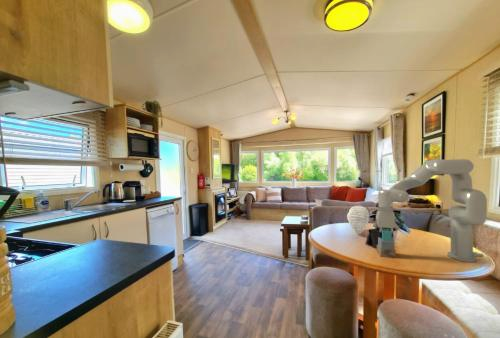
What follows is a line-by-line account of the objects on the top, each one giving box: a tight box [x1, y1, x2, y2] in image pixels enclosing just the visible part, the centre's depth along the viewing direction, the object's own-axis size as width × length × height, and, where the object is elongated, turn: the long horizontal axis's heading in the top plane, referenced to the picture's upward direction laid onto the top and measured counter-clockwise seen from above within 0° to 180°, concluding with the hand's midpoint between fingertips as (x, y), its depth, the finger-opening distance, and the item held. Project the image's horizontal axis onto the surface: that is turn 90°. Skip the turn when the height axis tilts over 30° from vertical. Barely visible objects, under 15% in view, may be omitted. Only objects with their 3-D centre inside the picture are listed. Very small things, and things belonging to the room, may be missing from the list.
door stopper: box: [365, 228, 380, 250], centre depth 149 cm, size 9×6×12 cm, turn 14°
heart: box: [346, 205, 370, 235], centre depth 174 cm, size 28×16×22 cm, turn 150°
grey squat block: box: [378, 238, 395, 250], centre depth 134 cm, size 7×7×5 cm
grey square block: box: [376, 245, 397, 259], centre depth 134 cm, size 8×8×5 cm
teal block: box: [382, 228, 393, 241], centre depth 134 cm, size 5×5×6 cm
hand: (385, 237), depth 134 cm, fingers closed on teal block, 4 cm apart
